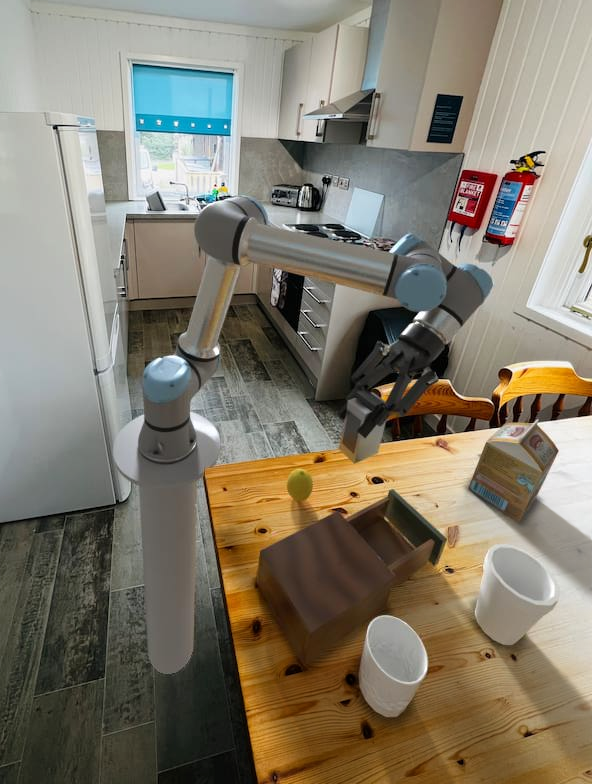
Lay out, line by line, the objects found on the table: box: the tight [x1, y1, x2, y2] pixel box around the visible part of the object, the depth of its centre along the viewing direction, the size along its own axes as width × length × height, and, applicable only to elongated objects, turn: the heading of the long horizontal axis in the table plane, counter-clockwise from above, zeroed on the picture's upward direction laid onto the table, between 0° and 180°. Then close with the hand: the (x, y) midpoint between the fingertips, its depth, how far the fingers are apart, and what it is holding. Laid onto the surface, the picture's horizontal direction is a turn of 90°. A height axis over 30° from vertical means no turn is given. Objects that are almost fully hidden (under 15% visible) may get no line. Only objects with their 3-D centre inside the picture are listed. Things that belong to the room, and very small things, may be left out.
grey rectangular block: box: [338, 390, 387, 465], centre depth 77 cm, size 5×7×13 cm
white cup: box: [357, 615, 429, 718], centre depth 56 cm, size 8×8×10 cm
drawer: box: [344, 488, 448, 590], centre depth 74 cm, size 18×12×7 cm
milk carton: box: [467, 418, 560, 522], centre depth 88 cm, size 11×11×19 cm
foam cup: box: [474, 543, 561, 646], centre depth 64 cm, size 10×9×13 cm
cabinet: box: [255, 510, 396, 667], centre depth 67 cm, size 18×14×9 cm
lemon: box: [286, 468, 314, 502], centre depth 86 cm, size 6×6×8 cm
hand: (350, 425), depth 75 cm, fingers closed on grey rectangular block, 5 cm apart
